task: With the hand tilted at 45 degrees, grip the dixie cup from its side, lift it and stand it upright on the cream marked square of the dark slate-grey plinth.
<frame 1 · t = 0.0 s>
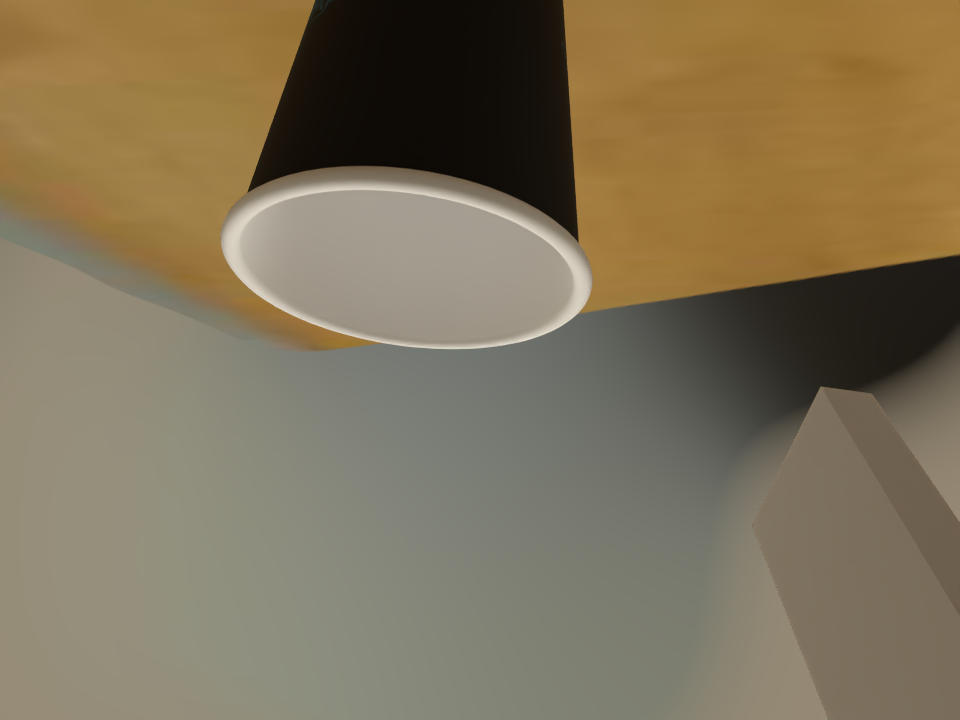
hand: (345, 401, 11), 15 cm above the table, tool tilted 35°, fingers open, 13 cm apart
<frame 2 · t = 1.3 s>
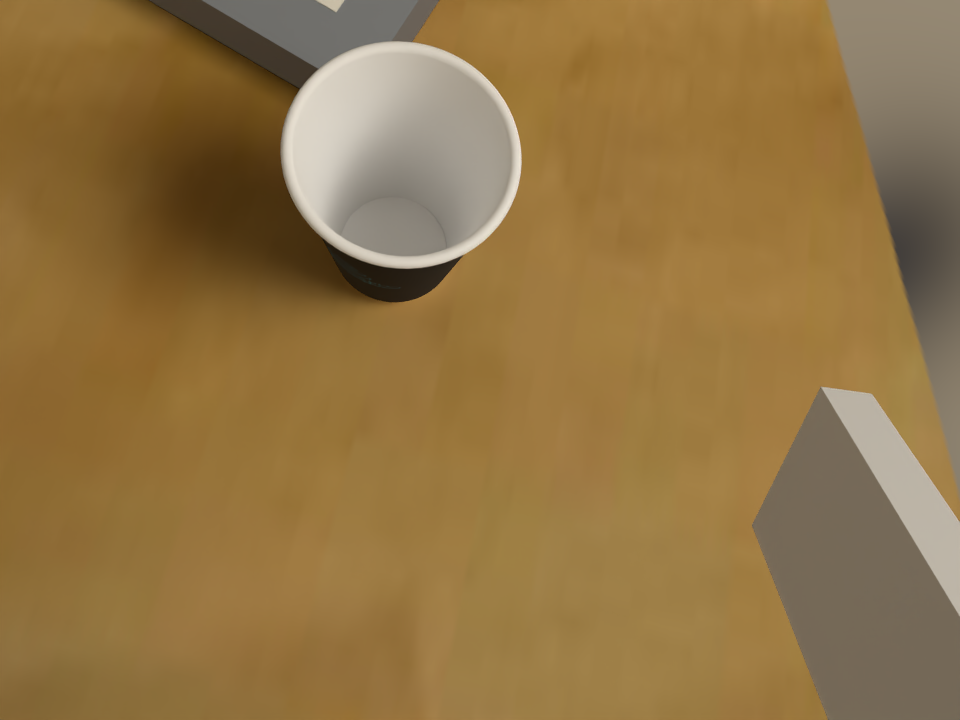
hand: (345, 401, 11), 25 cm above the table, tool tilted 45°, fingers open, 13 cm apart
dixie cup: (393, 251, 38), on the table
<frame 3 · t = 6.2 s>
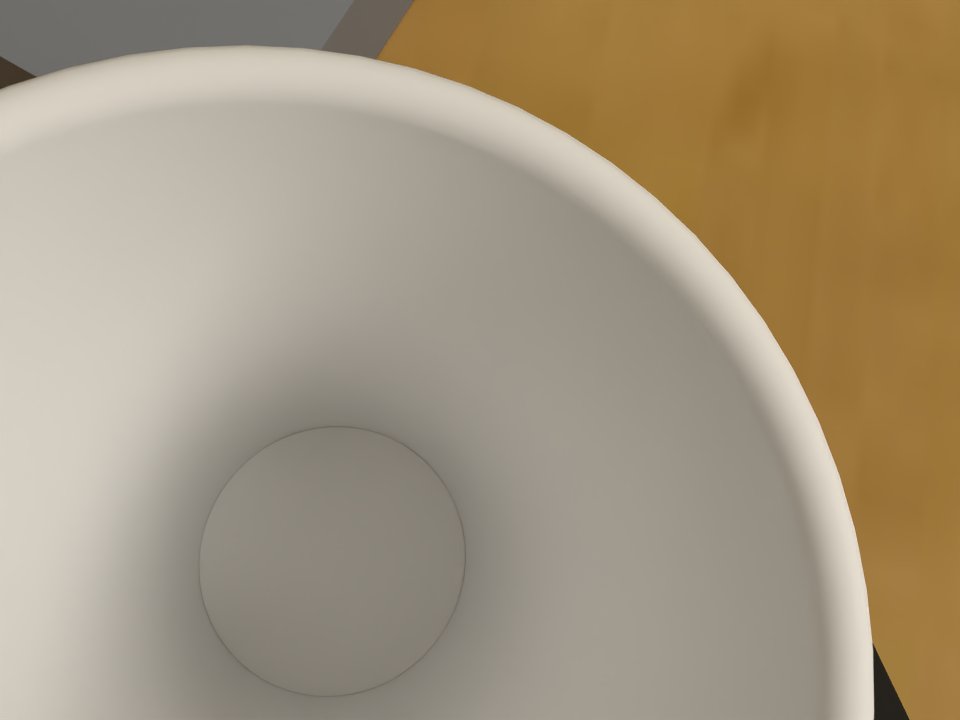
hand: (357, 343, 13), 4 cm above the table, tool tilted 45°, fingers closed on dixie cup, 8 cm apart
dixie cup: (336, 555, 16), on the table, touching gripper
when the fingers open (8 cm above the table, at t = 12.0 s): dixie cup drops 1 cm, resting on plinth.
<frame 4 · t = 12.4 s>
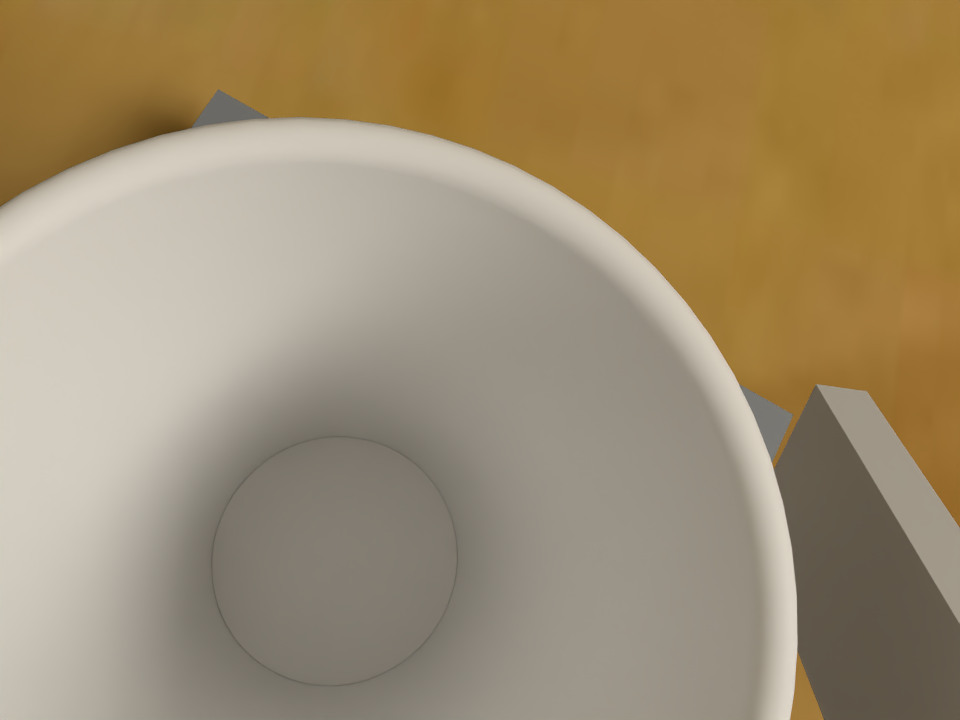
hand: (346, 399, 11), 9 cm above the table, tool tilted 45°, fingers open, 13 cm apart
plinth: (344, 546, 20), on the table
dixie cup: (337, 556, 17), point 3 cm above the table, touching plinth
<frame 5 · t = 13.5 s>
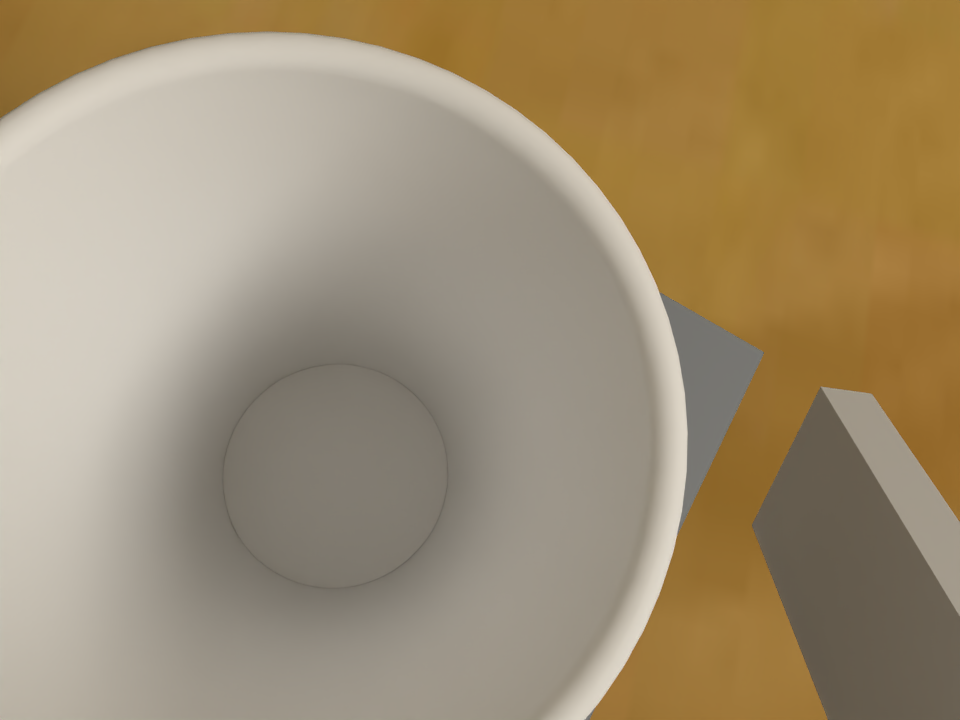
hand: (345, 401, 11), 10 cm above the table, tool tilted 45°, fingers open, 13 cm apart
plinth: (344, 476, 21), on the table
dixie cup: (338, 475, 18), point 3 cm above the table, touching plinth
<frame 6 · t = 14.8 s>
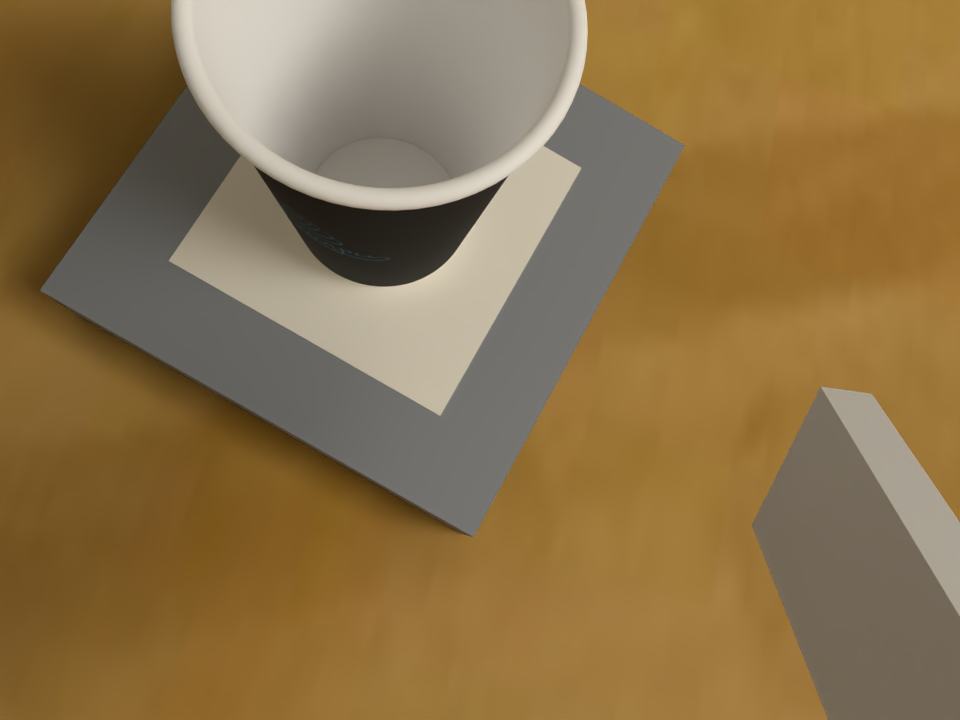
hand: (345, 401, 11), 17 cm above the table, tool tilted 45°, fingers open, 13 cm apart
plinth: (383, 242, 29), on the table
dixie cup: (382, 216, 26), point 3 cm above the table, touching plinth
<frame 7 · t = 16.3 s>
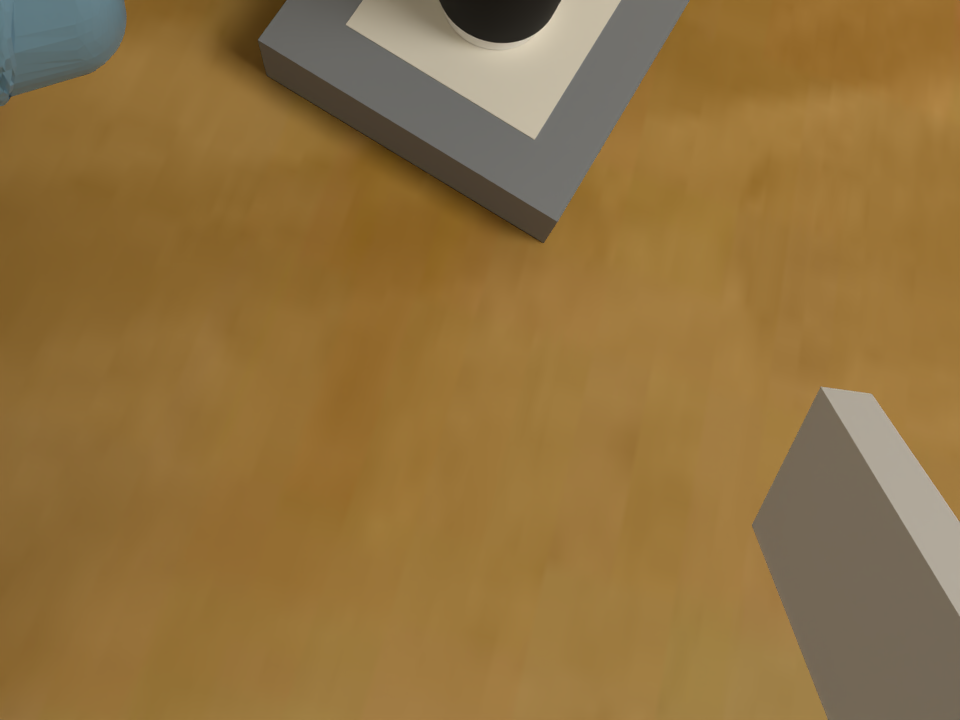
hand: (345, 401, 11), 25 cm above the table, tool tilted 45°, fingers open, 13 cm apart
plinth: (486, 37, 40), on the table
dixie cup: (493, 3, 37), point 3 cm above the table, touching plinth
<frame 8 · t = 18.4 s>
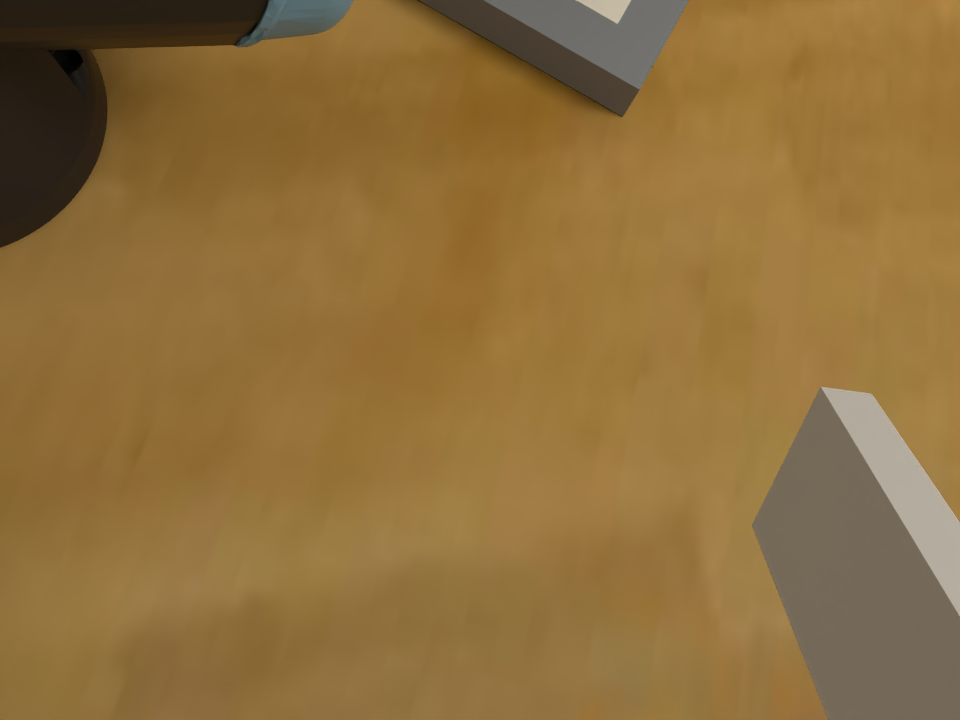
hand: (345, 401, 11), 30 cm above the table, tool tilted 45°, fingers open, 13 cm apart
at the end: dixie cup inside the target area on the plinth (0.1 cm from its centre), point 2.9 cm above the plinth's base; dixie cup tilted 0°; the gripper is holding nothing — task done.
